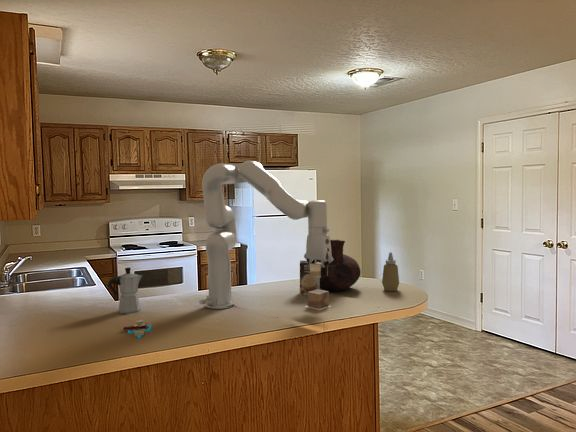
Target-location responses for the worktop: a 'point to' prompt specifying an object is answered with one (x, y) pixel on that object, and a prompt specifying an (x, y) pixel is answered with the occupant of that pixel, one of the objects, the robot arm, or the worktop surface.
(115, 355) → the worktop surface
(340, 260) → the jug
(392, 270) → the squeeze bottle
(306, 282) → the coffee box
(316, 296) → the walnut base block
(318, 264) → the maple cube
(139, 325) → the gear mechanism
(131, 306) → the coffee maker
